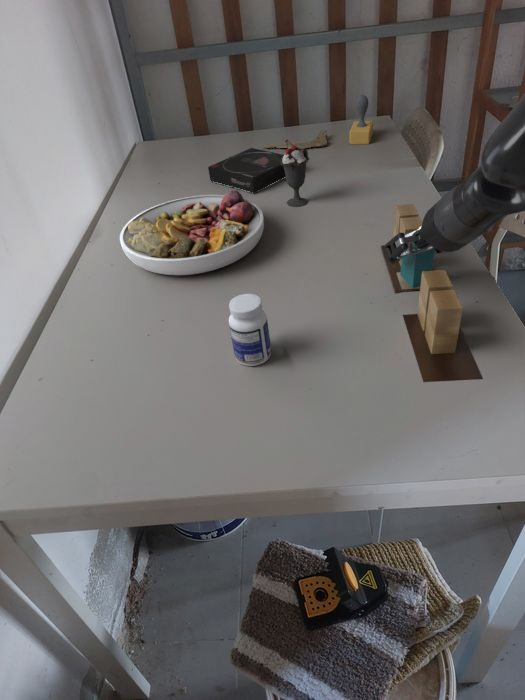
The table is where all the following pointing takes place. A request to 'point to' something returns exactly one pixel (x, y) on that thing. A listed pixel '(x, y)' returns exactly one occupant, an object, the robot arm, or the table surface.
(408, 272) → the teal upright block
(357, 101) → the rubber stamp
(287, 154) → the sundae
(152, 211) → the bowl
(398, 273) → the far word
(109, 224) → the table surface
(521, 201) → the robot arm
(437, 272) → the near word
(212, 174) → the black pizza box
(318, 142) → the jawbone
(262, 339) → the pill bottle
